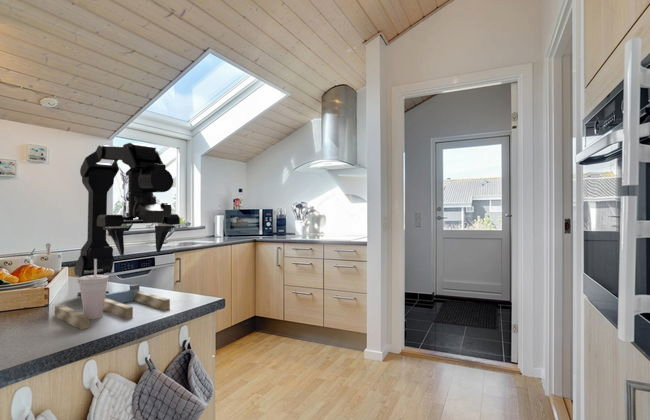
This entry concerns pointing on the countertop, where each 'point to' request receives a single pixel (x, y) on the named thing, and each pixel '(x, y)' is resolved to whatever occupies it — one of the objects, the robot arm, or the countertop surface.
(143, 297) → the divider rack
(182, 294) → the countertop surface
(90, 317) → the smoothie
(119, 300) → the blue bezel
